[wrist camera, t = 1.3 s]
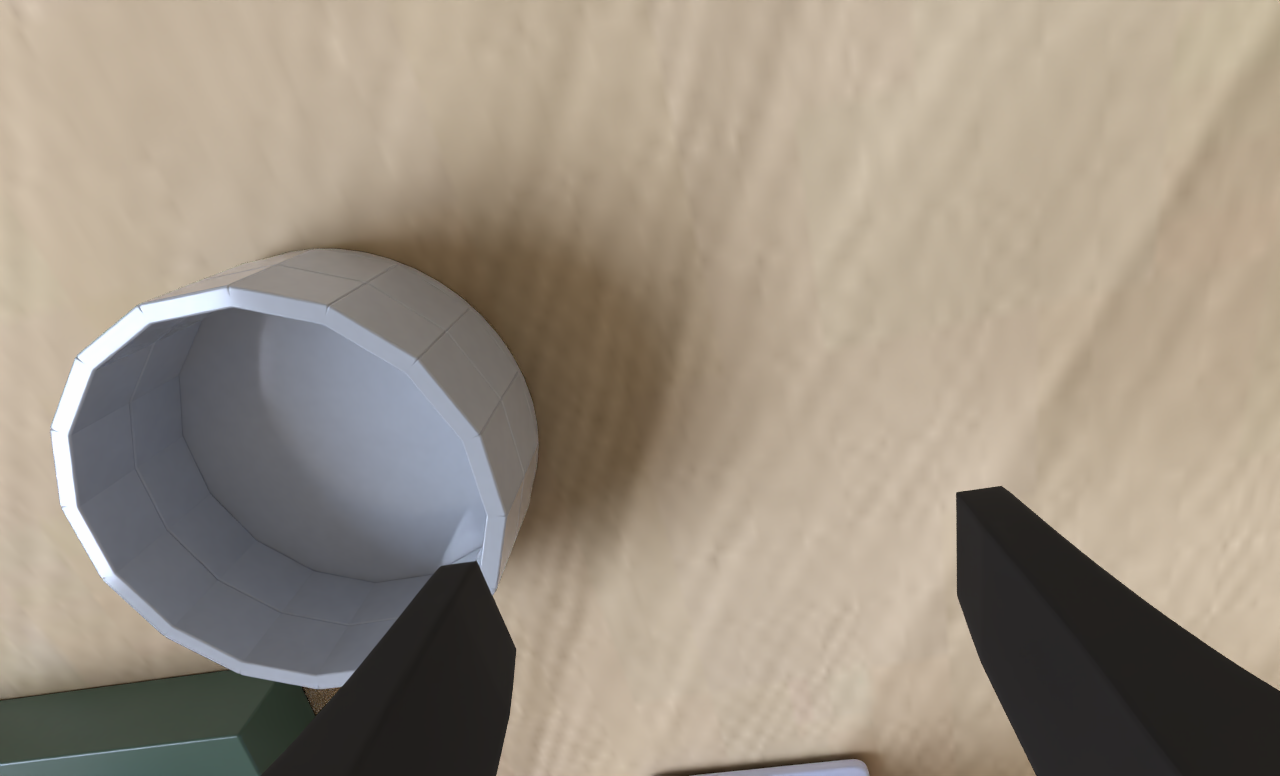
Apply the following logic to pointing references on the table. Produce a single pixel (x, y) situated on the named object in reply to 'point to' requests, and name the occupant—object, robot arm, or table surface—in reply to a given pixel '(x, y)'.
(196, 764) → the control box
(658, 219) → the table surface
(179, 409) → the pot
